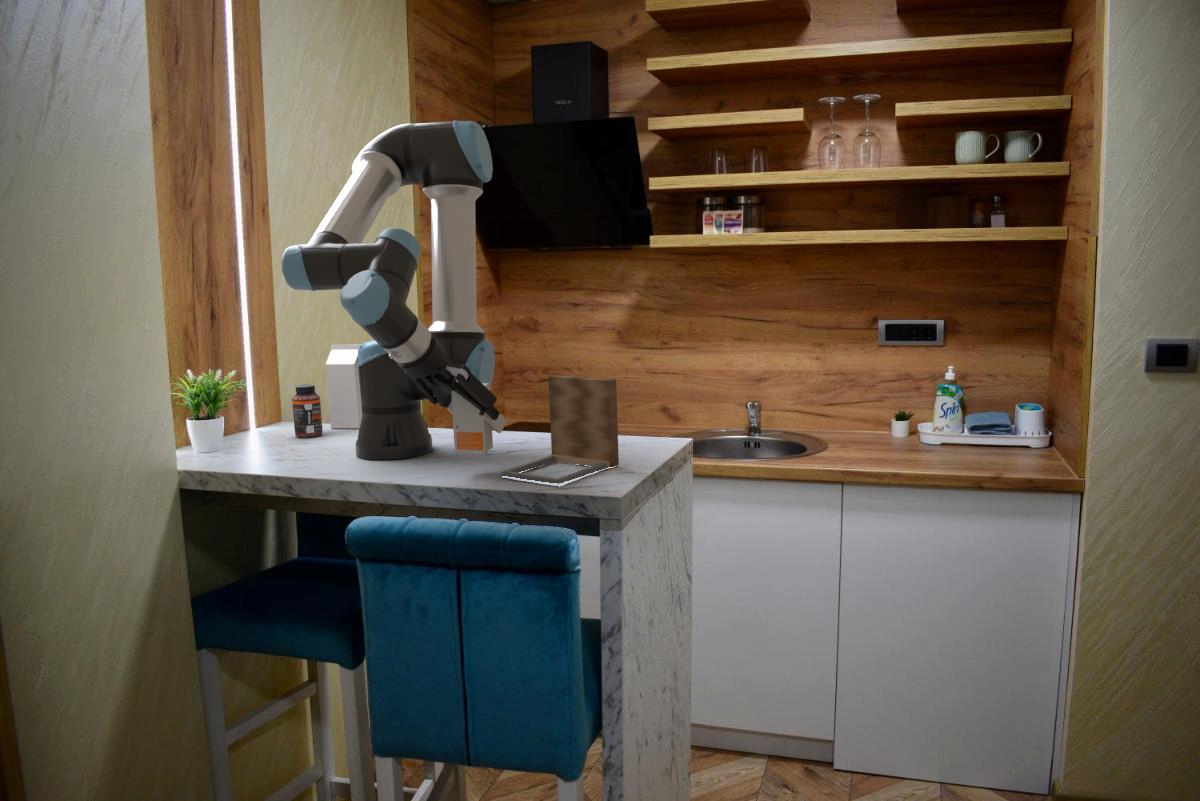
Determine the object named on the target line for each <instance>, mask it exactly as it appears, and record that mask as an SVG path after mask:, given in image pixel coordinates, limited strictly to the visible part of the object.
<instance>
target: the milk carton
mask: <svg viewBox="0 0 1200 801" xmlns="http://www.w3.org/2000/svg"><path fill="white" fill-rule="evenodd" d="M360 345H361V344H359V343H358V344H357V343H356V344H354V343H353V344H352V343H351V344H330V346H331V350H330V352H329V354H328V357H327V360H326V361H325V371H326V372H325V373H326V374H325V375H326V385H327V394H328V395H327V397H328V408H329V419H330V420H329V422H330V428H331V429H360V424H361V420H362V405H361V394H360V383H359V372H358V367H357V365H358V348H359V347H360Z"/></svg>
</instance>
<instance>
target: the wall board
mask: <svg viewBox="0 0 1200 801" xmlns="http://www.w3.org/2000/svg"><path fill="white" fill-rule="evenodd" d="M547 379H548V398H549V421H550V422H549V423H550V424H549V425H550V443H551V455H552V454H557V455H564V456H572V457H579V458H586V459H594V460H601V461H608V462H610V467H614V466H617V465H619V466H620V463H619V460H620V458H619V427H618V426H619V425H618V424H619V423H618V399H617V398H618V397H617V396H618V392H617V390H618V389H617V378H616V379H613V378H599V377H585V376H576V375H575V376H574V375H573V376H572V375H563V374H562V375H560V374H554V375H553V374H552V375H550V376H548V378H547Z"/></svg>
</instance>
